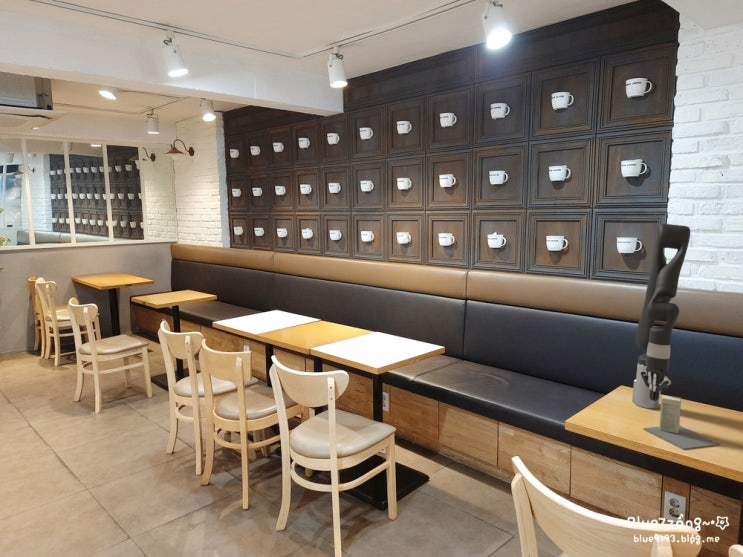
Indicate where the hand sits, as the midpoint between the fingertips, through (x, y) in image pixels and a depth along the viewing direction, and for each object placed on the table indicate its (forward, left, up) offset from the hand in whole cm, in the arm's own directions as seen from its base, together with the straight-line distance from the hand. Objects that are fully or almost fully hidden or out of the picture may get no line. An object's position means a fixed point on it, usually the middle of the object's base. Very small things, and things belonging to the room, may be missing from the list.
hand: (653, 400), depth 192 cm
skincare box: (+8, 0, -9) cm, 12 cm away
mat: (+13, 0, -9) cm, 15 cm away
